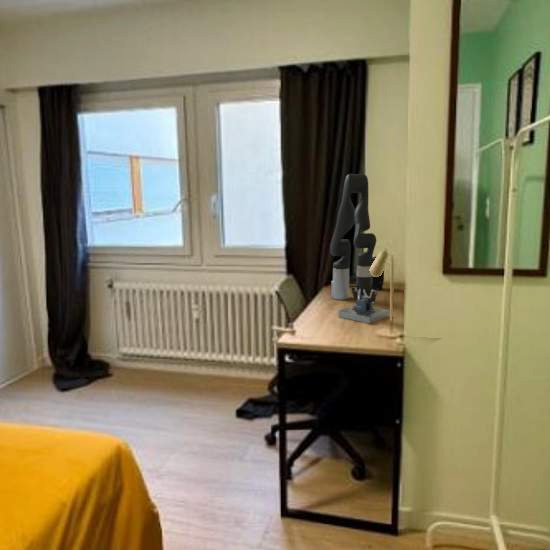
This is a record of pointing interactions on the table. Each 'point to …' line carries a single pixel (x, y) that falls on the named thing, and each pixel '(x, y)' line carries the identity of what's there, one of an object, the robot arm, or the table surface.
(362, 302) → the servo
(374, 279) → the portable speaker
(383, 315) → the chassis
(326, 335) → the table surface
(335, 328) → the table surface
